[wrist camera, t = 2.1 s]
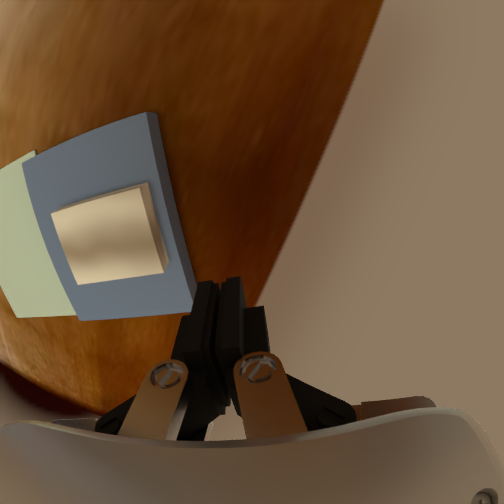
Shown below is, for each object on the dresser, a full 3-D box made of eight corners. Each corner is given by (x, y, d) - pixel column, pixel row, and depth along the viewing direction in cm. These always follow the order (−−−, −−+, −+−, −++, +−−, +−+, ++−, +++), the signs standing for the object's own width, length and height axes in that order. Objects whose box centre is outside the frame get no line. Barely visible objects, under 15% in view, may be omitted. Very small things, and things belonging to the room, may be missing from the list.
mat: (-31, 191, 21) (-33, 192, 21) (35, 149, 21) (34, 150, 20) (18, 316, 30) (17, 317, 29) (92, 312, 29) (91, 313, 29)
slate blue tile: (38, 157, 21) (21, 163, 18) (156, 113, 21) (145, 112, 18) (89, 305, 29) (79, 320, 26) (199, 293, 28) (195, 310, 26)
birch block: (62, 206, 21) (50, 213, 19) (147, 182, 20) (139, 187, 19) (86, 274, 24) (77, 284, 22) (169, 261, 23) (163, 272, 22)
